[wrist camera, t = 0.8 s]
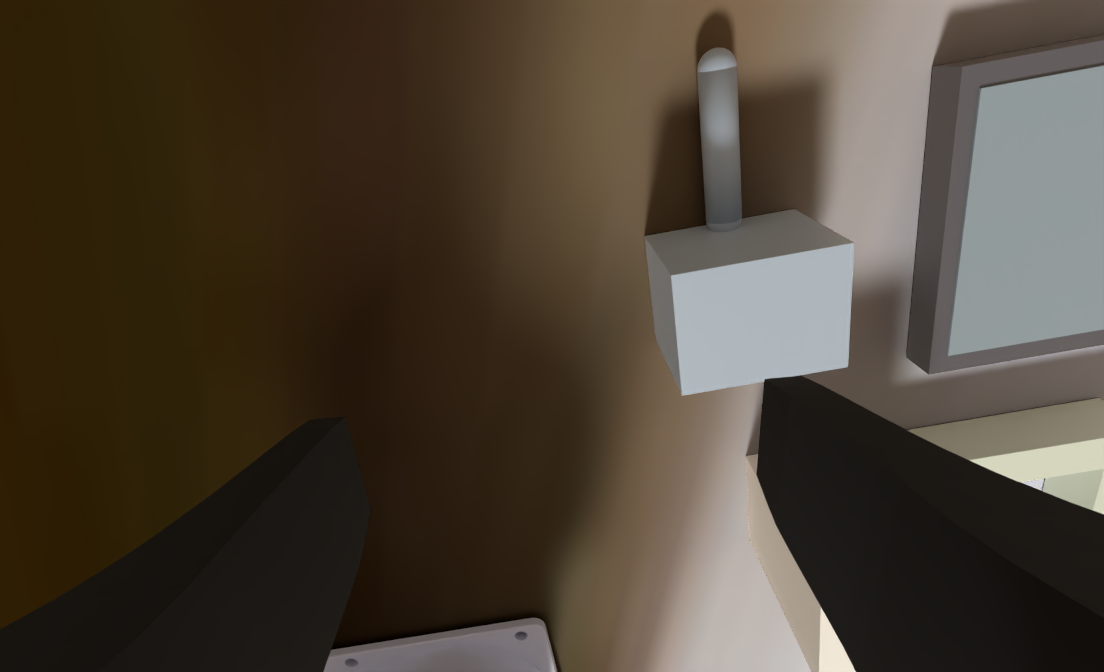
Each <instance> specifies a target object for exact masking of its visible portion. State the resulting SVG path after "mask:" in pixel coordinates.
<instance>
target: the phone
mask: <svg viewBox="0 0 1104 672" xmlns="http://www.w3.org/2000/svg"><path fill="white" fill-rule="evenodd" d="M1098 345H1104V34H1103V35H1098V36H1093V37H1087V38H1082V39H1077V40H1071V41H1066V42H1061V43H1055V44H1050V45H1045V46H1039V47H1034V48H1029V49H1023V50H1018V51H1013V52H1007V53H1002V54H997V55H991V56H986V57H981V58H975V59H970V60H965V61H959V62H954V63H949V64H943V65H938V66H933V68H932V80H931V91H930V102H929V113H928V124H927V135H926V146H925V157H924V168H923V180H922V191H921V202H920V213H919V224H918V235H917V246H916V257H915V268H914V279H913V291H912V302H911V313H910V324H909V335H908V346H907V358H908V359H909V360H911V361H912V362H913V363H915V364H916V365H917V366H918V367H920V368H921V369H922V370H924V371H925V372H926V373H928V374H934V373H940V372H946V371H952V370H957V369H963V368H969V367H975V366H981V365H987V364H993V363H999V362H1004V361H1010V360H1016V359H1022V358H1028V357H1034V356H1040V355H1046V354H1051V353H1057V352H1063V351H1069V350H1075V349H1081V348H1087V347H1092V346H1098Z"/></svg>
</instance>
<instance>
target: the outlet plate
mask: <svg viewBox="0 0 1104 672" xmlns="http://www.w3.org/2000/svg"><path fill="white" fill-rule="evenodd" d="M908 431H909V432H911V433H913V434H915V435H917V436H919V437H921V438H923V439H925V440H927V441H930V442H932V443H934V444H936V445H938V446H940V447H942V448H944V449H946V450H948V451H950V452H952V453H955V454H957V455H959V456H961V457H963V458H965V459H968V460H970V461H972V462H974V463H976V464H978V465H981V466H983V467H985V468H987V469H989V470H992V471H994V472H996V473H999V474H1001V475H1003V476H1006V477H1008V478H1010V479H1013V480H1015V481H1018V482H1026V481H1032V480H1038V479H1044V478H1045V482H1044V487H1043V492H1046V493H1048V494H1051V495H1053V496H1056V497H1058V498H1061V499H1063V500H1066V501H1068V502H1071V503H1074V504H1076V505H1079V506H1082V507H1085V508H1087V509H1090V510H1093V511H1096V512H1099V513H1102V514H1104V400H1102V399H1101V398H1095V399H1089V400H1083V401H1077V402H1071V403H1065V404H1059V405H1053V406H1047V407H1041V408H1035V409H1029V410H1023V411H1017V412H1011V413H1005V414H999V415H994V416H988V417H982V418H976V419H970V420H964V421H958V422H952V423H946V424H940V425H934V426H928V427H922V428H916V429H910V430H908Z"/></svg>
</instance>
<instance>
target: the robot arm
mask: <svg viewBox="0 0 1104 672" xmlns="http://www.w3.org/2000/svg"><path fill="white" fill-rule="evenodd" d="M756 475H757V478H758V481H759V483H760V486H761V489H762V491H763V494H764V497H765V499H766V502H767V504H768V507H769V509H770V512H771V514H772V517H773V519H774V522H775V524H776V526H777V528H778V530H779V532H780V534H781V536H782V538H783V540H784V541H785V543H786V545H787V547H788V549H789V551H790V552H791V554H792V556H793V558H794V560H795V561H796V563H797V565H798V567H799V569H800V571H801V572H802V574H803V576H804V578H805V579H806V581H807V583H808V585H809V587H810V588H811V590H812V592H813V594H814V596H815V597H816V599H817V601H818V603H819V605H820V606H821V608H822V610H823V612H824V613H825V615H826V617H827V619H828V621H829V622H830V624H831V626H832V628H833V630H834V631H835V633H836V635H837V637H838V639H839V640H840V642H841V644H842V646H843V648H844V650H845V651H846V653H847V655H848V657H849V659H850V661H851V663H852V665H853V667H854V669H855V671H856V672H1104V514H1102V513H1099V512H1096V511H1093V510H1090V509H1087V508H1085V507H1082V506H1079V505H1076V504H1074V503H1071V502H1068V501H1066V500H1063V499H1061V498H1058V497H1056V496H1053V495H1051V494H1048V493H1046V492H1043V491H1041V490H1038V489H1035V488H1033V487H1030V486H1028V485H1025V484H1023V483H1020V482H1018V481H1015V480H1013V479H1010V478H1008V477H1006V476H1003V475H1001V474H999V473H996V472H994V471H992V470H989V469H987V468H985V467H983V466H981V465H978V464H976V463H974V462H972V461H970V460H968V459H965V458H963V457H961V456H959V455H957V454H955V453H952V452H950V451H948V450H946V449H944V448H942V447H940V446H938V445H936V444H934V443H932V442H930V441H927V440H925V439H923V438H921V437H919V436H917V435H915V434H913V433H911V432H909V431H908V430H906V429H904V428H902V427H900V426H898V425H896V424H894V423H892V422H890V421H888V420H886V419H884V418H882V417H881V416H879V415H877V414H875V413H873V412H871V411H869V410H867V409H865V408H864V407H862V406H860V405H858V404H856V403H854V402H852V401H850V400H849V399H847V398H845V397H843V396H841V395H839V394H837V393H835V392H833V391H831V390H830V389H828V388H826V387H824V386H822V385H820V384H818V383H816V382H813V381H811V380H809V379H807V378H804V377H802V376H792V377H780V378H769V379H765V380H764V392H763V403H762V415H761V427H760V438H759V450H758V461H757V473H756ZM370 512H371V509H370V505H369V501H368V498H367V494H366V490H365V487H364V483H363V480H362V476H361V472H360V469H359V465H358V461H357V458H356V454H355V450H354V447H353V443H352V439H351V436H350V432H349V429H348V425H347V421H346V418H345V417H338V418H327V419H316V420H309V421H308V422H306V423H305V424H303V425H302V426H300V427H299V428H297V429H296V430H294V431H293V432H292V433H290V434H289V435H288V436H286V437H285V438H284V439H282V440H281V441H280V442H279V443H277V444H276V445H275V446H273V447H272V448H271V449H270V450H268V451H267V452H266V453H264V454H263V455H262V456H261V457H259V458H258V459H257V460H256V461H254V462H253V463H252V464H250V465H249V466H248V467H247V468H245V469H244V470H243V471H241V472H240V473H239V474H238V475H236V476H235V477H234V478H232V479H231V480H230V481H229V482H227V483H226V484H225V485H223V486H222V487H221V488H220V489H218V490H217V491H216V492H214V493H213V494H212V495H210V496H209V497H208V498H206V499H205V500H204V501H202V502H201V503H199V504H198V505H197V506H195V507H194V508H192V509H191V510H190V511H188V512H187V513H186V514H184V515H183V516H181V517H180V518H179V519H177V520H176V521H175V522H173V523H172V524H170V525H169V526H168V527H166V528H165V529H163V530H162V531H161V532H159V533H158V534H157V535H155V536H154V537H152V538H151V539H149V540H148V541H147V542H145V543H144V544H142V545H141V546H139V547H138V548H136V549H135V550H133V551H132V552H130V553H129V554H127V555H126V556H124V557H122V558H121V559H119V560H118V561H116V562H115V563H113V564H112V565H110V566H108V567H107V568H105V569H104V570H102V571H100V572H99V573H97V574H96V575H94V576H92V577H91V578H89V579H88V580H86V581H84V582H83V583H81V584H79V585H78V586H76V587H75V588H73V589H71V590H70V591H68V592H66V593H65V594H63V595H61V596H60V597H58V598H56V599H54V600H53V601H51V602H49V603H47V604H45V605H44V606H42V607H40V608H38V609H36V610H35V611H33V612H31V613H29V614H27V615H26V616H24V617H22V618H20V619H18V620H17V621H15V622H13V623H11V624H9V625H8V626H6V627H4V628H2V629H0V672H557V668H556V664H555V660H554V656H553V652H552V649H551V645H550V641H549V637H548V633H547V629H546V625H545V623H544V621H542V620H541V619H538V618H527V619H521V620H515V621H508V622H502V623H496V624H490V625H483V626H477V627H471V628H465V629H458V630H452V631H446V632H440V633H434V634H427V635H421V636H415V637H409V638H402V639H396V640H390V641H384V642H377V643H371V644H365V645H359V646H352V647H346V648H340V649H334V650H331V648H332V646H333V643H334V640H335V637H336V634H337V631H338V628H339V625H340V622H341V620H342V617H343V614H344V611H345V608H346V605H347V602H348V599H349V596H350V593H351V590H352V587H353V584H354V581H355V578H356V575H357V572H358V569H359V566H360V562H361V558H362V553H363V548H364V544H365V539H366V533H367V528H368V522H369V517H370ZM520 631H522V632H520Z"/></svg>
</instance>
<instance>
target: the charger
mask: <svg viewBox="0 0 1104 672" xmlns="http://www.w3.org/2000/svg"><path fill="white" fill-rule="evenodd" d="M757 461H758V454H755V455H749V456H746V476H747V499H748V522H749V540H750V542H751V544H752V546H753V548H754V550H755V553H756V555H757V557H758V559H759V561H760V563H761V565H762V567H763V570H764V572H765V574H766V576H767V578H768V580H769V582H770V584H771V587H772V589H773V591H774V593H775V595H776V597H777V599H778V601H779V603H780V606H781V608H782V610H783V612H784V614H785V616H786V618H787V620H788V623H789V625H790V627H791V629H792V631H793V633H794V635H795V637H796V640H797V642H798V644H799V646H800V648H801V650H802V652H803V654H804V657H805V659H806V661H807V663H808V665H809V667H810V669H811V671H812V672H856V671H855V669H854V667H853V665H852V663H851V661H850V659H849V657H848V655H847V653H846V651H845V650H844V648H843V646H842V644H841V642H840V640H839V639H838V637H837V635H836V633H835V631H834V630H833V628H832V626H831V624H830V622H829V621H828V619H827V617H826V615H825V613H824V612H823V610H822V608H821V606H820V605H819V603H818V601H817V599H816V597H815V596H814V594H813V592H812V590H811V588H810V587H809V585H808V583H807V581H806V579H805V578H804V576H803V574H802V572H801V571H800V569H799V567H798V565H797V563H796V561H795V560H794V558H793V556H792V554H791V552H790V551H789V549H788V547H787V545H786V543H785V541H784V540H783V538H782V536H781V534H780V532H779V530H778V528H777V526H776V524H775V522H774V519H773V517H772V514H771V512H770V509H769V507H768V504H767V502H766V499H765V497H764V494H763V491H762V489H761V486H760V483H759V481H758V478H757V475H756V473H757Z"/></svg>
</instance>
